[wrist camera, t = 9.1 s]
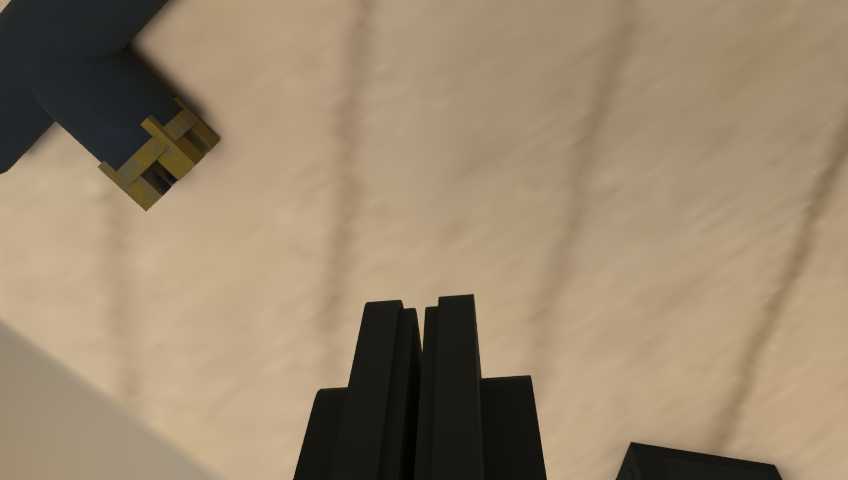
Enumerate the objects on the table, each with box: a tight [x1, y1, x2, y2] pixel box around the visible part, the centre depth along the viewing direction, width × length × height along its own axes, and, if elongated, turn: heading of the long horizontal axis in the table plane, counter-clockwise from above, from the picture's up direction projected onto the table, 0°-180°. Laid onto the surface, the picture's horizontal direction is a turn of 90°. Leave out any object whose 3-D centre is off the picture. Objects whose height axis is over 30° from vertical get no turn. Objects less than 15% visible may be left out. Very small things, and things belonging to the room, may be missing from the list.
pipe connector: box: [0, 0, 220, 211], centre depth 37 cm, size 12×5×15 cm
